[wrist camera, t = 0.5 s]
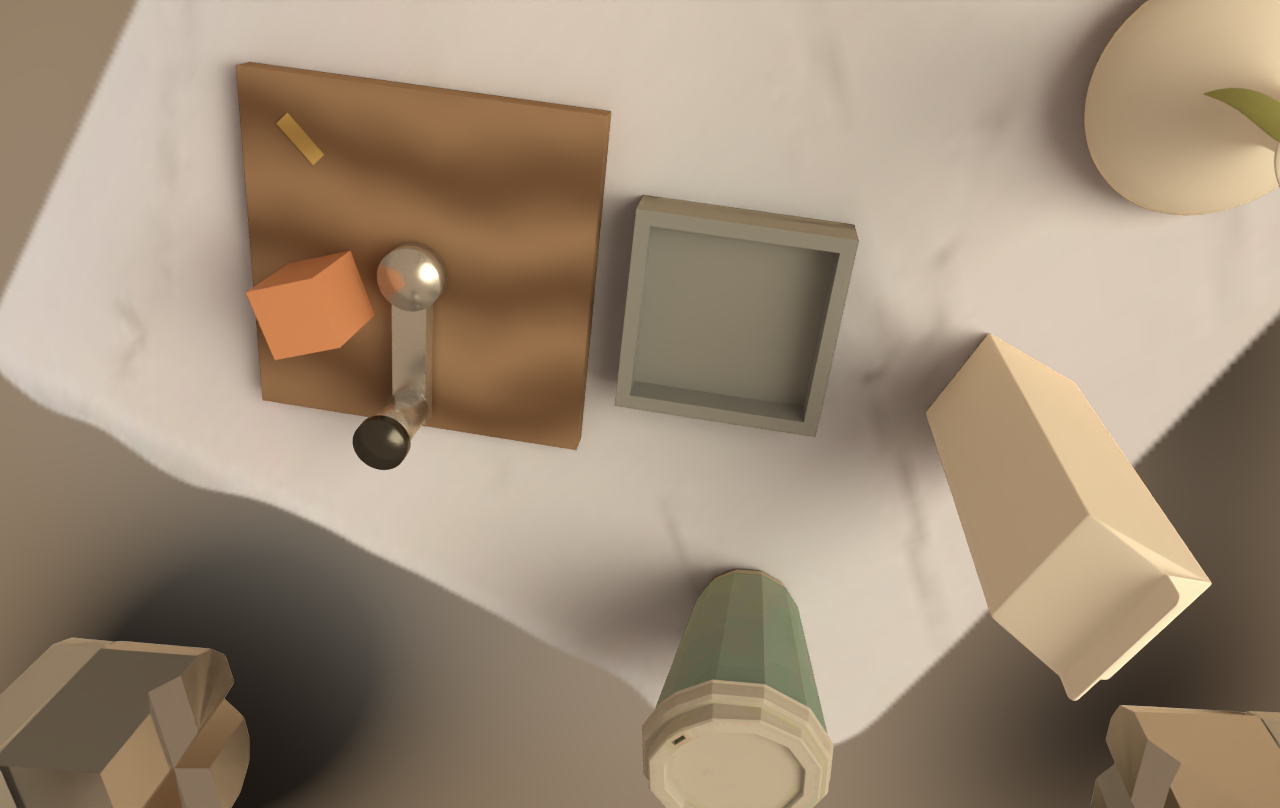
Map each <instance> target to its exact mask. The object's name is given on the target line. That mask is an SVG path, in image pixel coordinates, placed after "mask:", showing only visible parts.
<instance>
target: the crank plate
mask: <svg viewBox="0 0 1280 808" xmlns="http://www.w3.org/2000/svg"><path fill="white" fill-rule="evenodd" d="M236 73H237V85H238V98H239V110H240V123H241V135H242V148H243V160H244V173H245V185H246V198H247V210H248V223H249V235H250V248H251V260H252V273H253V285H254V286H256V285H257V284H259V283H260V282H262V281H263V280H265V279H266V278H268V277H269V276H271V275H272V274H274V273H275V272H277V271H278V270H280V269H281V268H283V267H284V266H286V265H287V264H289V263H294V262H299V261H303V260H308V259H313V258H317V257H322V256H327V255H331V254H336V253H341V252H345V251H351V254H352V256H353V259H354V261H355V264H356V267H357V269H358V272H359V275H360V277H361V280H362V283H363V285H364V288H365V291H366V293H367V296H368V299H369V301H370V304H371V307H372V309H373V312H374V316H373V317H372V318H371V319H370V320H369V321H368V322H367V323H366V324H365V325H364V326H363V327H361V328H360V329H359V330H358V331H357V332H356V333H355V334H354V335H353V336H352V337H351V338H350V339H349V340H348V341H347V342H346V343H345V344H343V345H342V346H341V347H340V348H336V349H331V350H326V351H320V352H315V353H310V354H305V355H299V356H294V357H289V358H284V359H279V360H275V359H274V357H273V355H272V352H271V350H270V348H269V345H268V343H267V341H266V339H265V336H264V334H263V332H262V329H261V327H260V325H259V322H258V320H257V318H256V323H257V335H258V348H259V360H260V373H261V385H262V398H263V400H265V401H272V402H278V403H284V404H290V405H297V406H303V407H309V408H316V409H322V410H328V411H334V412H341V413H347V414H353V415H359V416H366V417H372V416H376V414H377V413H378V412H379V411H380V410H381V408H382V407H383V406H384V405H385V404H386V402H387V401H388V400H389V399H390V398H391V396H392V395H393V389H392V304H391V303H390V302H389V301H388V300H387V299H386V298H385V297H384V296H383V294H382V293H381V291H380V289H379V286H378V282H377V270H378V266H379V264H380V262H381V261H382V259H383V258H384V257H385V256H386V255H387V254H389V253H390V252H391V251H392V250H394V249H395V248H396V247H398V246H399V245H401V244H404V243H411V242H414V243H420V244H423V245H426V246H428V247H430V248H431V249H433V250H434V251H435V252H436V253H437V254H438V255H439V256H440V257H441V259H442V260H443V262H444V264H445V267H446V270H447V284H446V287H445V290H444V291H443V293H442V294H441V295H440V296H439V297H438V298H437V300H436V301H435V302H434V303H433V337H432V416H431V418H430V419H429V420H428V422H427V423H426V425H422V426H428V427H435V428H441V429H447V430H454V431H460V432H466V433H472V434H479V435H485V436H491V437H498V438H504V439H510V440H516V441H523V442H529V443H535V444H541V445H548V446H554V447H560V448H567V449H573V450H577V447H578V445H579V442H580V439H581V431H582V420H583V410H584V399H585V388H586V377H587V367H588V356H589V345H590V334H591V324H592V313H593V302H594V291H595V281H596V270H597V259H598V248H599V238H600V227H601V216H602V205H603V195H604V184H605V173H606V162H607V152H608V141H609V130H610V119H611V111H605V110H598V109H590V108H583V107H576V106H568V105H561V104H554V103H546V102H539V101H532V100H524V99H517V98H510V97H502V96H495V95H487V94H480V93H473V92H465V91H458V90H451V89H443V88H436V87H429V86H421V85H414V84H407V83H399V82H392V81H385V80H377V79H370V78H363V77H355V76H348V75H341V74H333V73H326V72H319V71H311V70H304V69H296V68H289V67H282V66H274V65H267V64H260V63H252V62H248V63H244V64H240V65H236Z"/></svg>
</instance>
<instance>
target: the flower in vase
mask: <svg viewBox="0 0 1280 808" xmlns="http://www.w3.org/2000/svg"><path fill="white" fill-rule="evenodd" d="M1084 118H1085V133H1086V139H1087V144H1088V148H1089V151H1090V154H1091V157H1092V159H1093V161H1094V163H1095V165H1096V167H1097V169H1098V171H1099V172H1100V173H1101V175H1102V176H1103V177H1104V179H1105V180H1106V182H1107V183H1108V184H1109V185H1110V186H1111V187H1112V188H1113V189H1114V190H1115V191H1116V192H1118V193H1119V194H1120V195H1122V196H1123V197H1125V198H1126V199H1127V200H1129V201H1131V202H1133V203H1135V204H1137V205H1139V206H1141V207H1143V208H1146V209H1149V210H1152V211H1155V212H1160V213H1165V214H1172V215H1201V214H1207V213H1213V212H1218V211H1222V210H1226V209H1230V208H1233V207H1237V206H1240V205H1242V204H1245V203H1247V202H1250V201H1252V200H1255V199H1257V198H1259V197H1261V196H1262V195H1264V194H1266V193H1268V192H1270V191H1272V190H1273V189H1275V188H1276V187H1278V186H1279V187H1280V0H1148V1H1146V2H1145V3H1144V4H1143V5H1141V6H1140V7H1139V8H1138V9H1137V10H1136V11H1135V12H1134V13H1133V14H1132V15H1131V16H1130V17H1129V18H1128V19H1127V20H1126V21H1125V22H1124V23H1123V24H1122V26H1121V27H1120V28H1119V29H1118V30H1117V32H1116V33H1115V34H1114V36H1113V37H1112V39H1111V40H1110V42H1109V43H1108V45H1107V46H1106V48H1105V49H1104V51H1103V53H1102V55H1101V57H1100V59H1099V61H1098V63H1097V65H1096V67H1095V70H1094V72H1093V75H1092V78H1091V80H1090V84H1089V88H1088V92H1087V96H1086V103H1085V112H1084Z"/></svg>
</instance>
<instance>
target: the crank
mask: <svg viewBox="0 0 1280 808" xmlns="http://www.w3.org/2000/svg"><path fill="white" fill-rule="evenodd" d="M377 282H378V286H379V289H380V291H381V293H382V294H383V296H384V297H385V298H386V299H387V300H388V301H389V302H390V303H391V304H392V389H393V395H392V396H391V398H390V399H389V400H388V401H387V402H386V404H385V405H384V406H383V407H382V408H381V410H380V411H379V412H378V413H377V414H376V416H372V417H369V418H367V419H366V420H365V421H363V423H362V424H361V425H360V426H359V427H358V429H357V430H356V431H355V433H354V436H353V447H354V450H355V452H356V454H357V456H358V457H359V458H360V459H361V460H362V461H363V462H364V463H365V464H367V465H368V466H370V467H372V468H375V469H379V470H389V469H393V468H395V467H397V466H398V465H399V464H400V463H401V462H402V461H403V460H404V458H405V457H406V455H407V454H408V452H409V450H410V444H411V443H410V441H411V439H412V438H413V436H414V435H415V434H416V432H417V431H418V429H419V428H420V427H421V425H426V423H427V422H428V420H429V419H430V418H431V416H432V337H433V303H434V302H435V301H436V300H437V298H438V297H439V296H440V295H441V294H442V293H443V291H444V290H445V287H446V284H447V270H446V267H445V264H444V262H443V260H442V259H441V257H440V256H439V255H438V254H437V253H436V252H435V251H434V250H433V249H431V248H430V247H428V246H426V245H423V244H420V243H414V242H411V243H404V244H401V245H399V246H398V247H396V248H395V249H394V250H392V251H391V252H390V253H389V254H387V255H386V256H385V257H384V258H383V259H382V261H381V262H380V264H379V266H378V270H377Z"/></svg>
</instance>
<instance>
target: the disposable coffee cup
mask: <svg viewBox="0 0 1280 808" xmlns="http://www.w3.org/2000/svg"><path fill="white" fill-rule="evenodd" d="M642 735H643V737H642V739H643V773H644V775H645V777H646V778H647V779H648V780H649V789H650V790H651V791H652V793H653V794H654V795H655V796H656V797H657V798H658V799H659V800H660V802H661V803H662V804H663V805H664V806H665V807H666V808H813V807H814V806H815V805H816V804H817V803H818V802H819V801H820V800H821V799H822V798H823V797H824V796H825V795H826V794H827V793H828V784H829V781H830V773H831V764H832V754H833V745H834V744H833V742H832V741H831V739H830V738H829V736H828V734H827V730H826V726H825V722H824V717H823V713H822V709H821V704H820V700H819V696H818V692H817V687H816V683H815V679H814V674H813V670H812V666H811V662H810V657H809V653H808V649H807V644H806V640H805V636H804V632H803V627H802V623H801V619H800V614H799V610H798V607H797V605H796V604H795V602H794V600H793V599H792V597H791V596H790V594H789V592H788V591H787V589H786V588H785V587H784V585H783V584H782V582H780V581H778V580H776V579H774V578H773V577H771V576H769V575H767V574H765V573H764V572H762V571H753V570H739V569H736V570H733V571H730V572H728V573H725V574H723V575H720V576H718V577H715V578H714V579H713V581H711V582H710V583H709V584H708V586H707V587H706V588H705V590H704V591H703V592H702V593H701V595H700V596H699V597H698V599H697V600H696V603H695V606H694V608H693V611H692V613H691V616H690V619H689V621H688V624H687V627H686V629H685V632H684V634H683V637H682V640H681V642H680V645H679V648H678V650H677V653H676V655H675V658H674V661H673V663H672V666H671V669H670V671H669V674H668V676H667V679H666V682H665V684H664V687H663V690H662V692H661V695H660V697H659V700H658V703H657V705H656V708H655V710H654V712H653V713H652V714H651V715H650V717H649V718H648V719H647V720H646V721H645V723H644V724H643V725H642Z"/></svg>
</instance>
